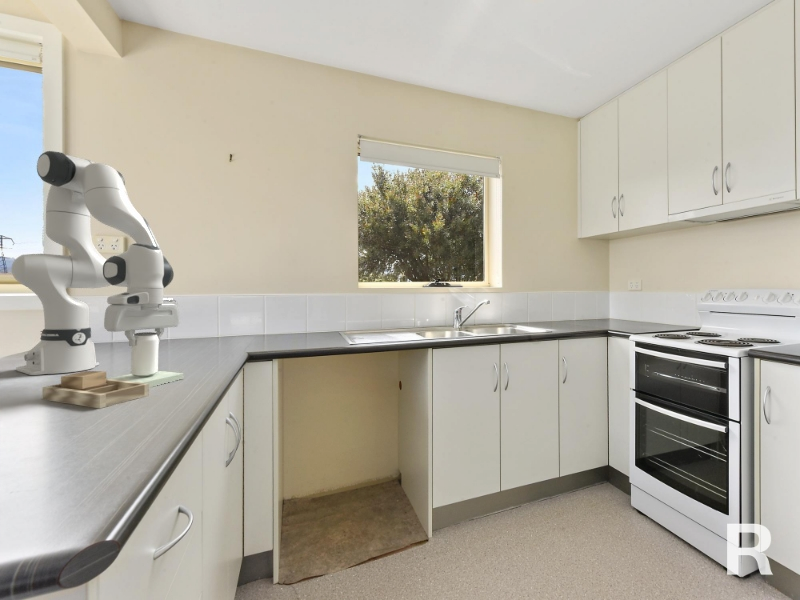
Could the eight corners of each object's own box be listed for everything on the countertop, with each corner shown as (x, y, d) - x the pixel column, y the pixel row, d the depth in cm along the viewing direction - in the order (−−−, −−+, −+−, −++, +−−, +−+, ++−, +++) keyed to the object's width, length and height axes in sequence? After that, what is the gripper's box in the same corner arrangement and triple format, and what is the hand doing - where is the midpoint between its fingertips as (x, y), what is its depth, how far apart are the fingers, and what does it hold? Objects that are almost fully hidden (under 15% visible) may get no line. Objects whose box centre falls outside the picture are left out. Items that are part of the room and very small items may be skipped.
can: (143, 377, 100) (145, 336, 99) (125, 374, 101) (126, 334, 100) (162, 371, 106) (164, 333, 106) (145, 369, 107) (146, 331, 107)
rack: (42, 399, 85) (42, 387, 85) (94, 387, 96) (94, 377, 96) (100, 408, 79) (100, 395, 79) (149, 395, 90) (149, 383, 90)
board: (102, 385, 99) (102, 379, 99) (150, 375, 112) (150, 369, 112) (137, 390, 94) (137, 383, 94) (183, 379, 108) (183, 373, 108)
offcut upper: (60, 388, 86) (61, 376, 86) (86, 382, 92) (86, 371, 92) (82, 389, 86) (82, 376, 86) (106, 382, 92) (106, 371, 92)
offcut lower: (60, 399, 87) (60, 387, 87) (92, 392, 93) (92, 381, 93) (75, 402, 85) (76, 389, 85) (107, 394, 91) (107, 383, 91)
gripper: (170, 298, 114) (169, 339, 114) (100, 297, 94) (99, 348, 95) (184, 298, 112) (184, 340, 112) (116, 298, 93) (116, 349, 93)
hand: (145, 344), depth 103 cm, fingers closed on can, 5 cm apart
